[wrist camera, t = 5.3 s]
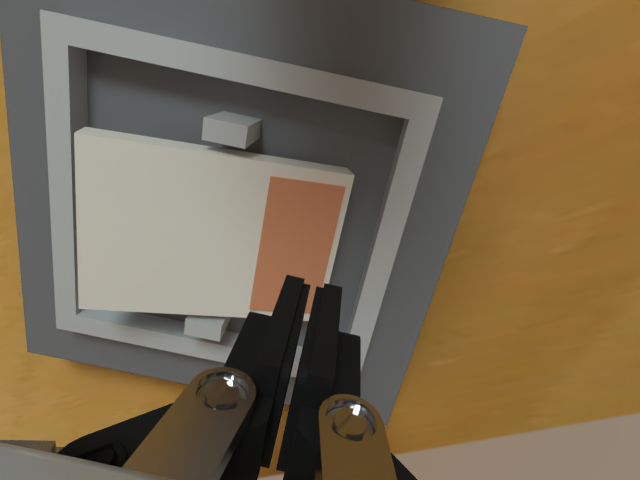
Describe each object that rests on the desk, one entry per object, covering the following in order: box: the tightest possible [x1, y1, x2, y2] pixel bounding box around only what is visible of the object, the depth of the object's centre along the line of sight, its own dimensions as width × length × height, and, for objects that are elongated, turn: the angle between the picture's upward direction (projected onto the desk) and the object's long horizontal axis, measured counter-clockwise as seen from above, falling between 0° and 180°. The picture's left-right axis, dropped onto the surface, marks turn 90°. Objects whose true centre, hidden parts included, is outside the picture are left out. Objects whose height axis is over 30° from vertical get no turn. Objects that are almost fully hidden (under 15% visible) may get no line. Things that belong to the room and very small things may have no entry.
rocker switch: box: [74, 127, 355, 321], centre depth 17 cm, size 10×7×1 cm
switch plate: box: [0, 0, 528, 425], centre depth 19 cm, size 20×20×6 cm
